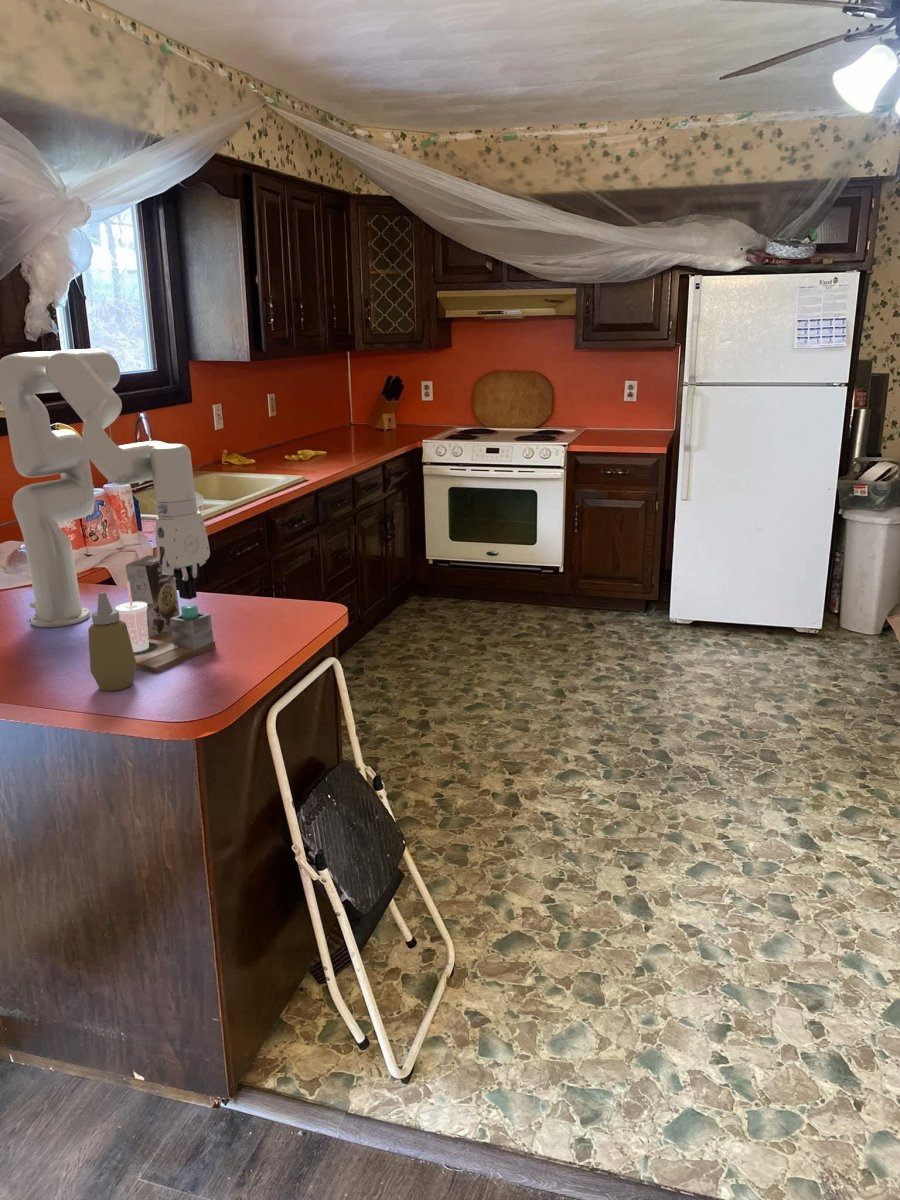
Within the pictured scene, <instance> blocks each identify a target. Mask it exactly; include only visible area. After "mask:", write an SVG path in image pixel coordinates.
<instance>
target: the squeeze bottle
mask: <svg viewBox="0 0 900 1200" xmlns="http://www.w3.org/2000/svg"><path fill="white" fill-rule="evenodd" d="M97 597H98V598H97V600H98V601H97V610H96V611H94V612H92V613H91V620H92V624H91V625H90V626H89V627H88V631H87V632H88V648H89V649H88V651H89V667H90V668H89V669H90V673H91V675H92V677H93V678H94V680H95V682H96V684H97V686H98V687H99V689H100V690H102V691H106V692H108V691H109V692H111V691H112V692H113V691H119V690H123V689H126V688H129V687H131V686H132V685H133V683H134V677H135V674H136V673H135V672H136V669H135V668H136V660H135V656H134V652H133V648H132V645H131V641H130V637H129V633H128V629H127V626H126V623H125V622H123V621H122V620H119V619H120V617H119V611H118V610H117V609H115V608H112V606H111V605H112V604H111V603H110V600H109V598H108V596H107V593H106V592H105V591H102V592H99V593H98V596H97Z"/></svg>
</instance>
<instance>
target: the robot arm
mask: <svg viewBox="0 0 900 1200" xmlns="http://www.w3.org/2000/svg"><path fill="white" fill-rule="evenodd" d="M120 379H121V370H120V366H119V364H118V362H117V360H116V359H115V357H114V356H113V355H112V354H111V353H109V352H108V351H106V350H105V349H103V348H102V349H101V348H86V349H85V348H82V349H81V348H80V349H65V350H54V351H53V350H51V351H48V350H47V351H26V352H17V353H12V354H8V355H6V356H3V357H2V358H1V359H0V403H1V406H2V409H3V411H4V415H5V416H4V417H5V420H6V427H7V433H8V437H9V444H10V450H11V457H12V460H13V465H14V467H15V470H16V471H17V473H18V474H19V475H21V476H23V477H25V478H41V477H48V476H52V475H53V476H54V475H60V479H54V480H47V481H42V482H36V483H31V484H27V485H24V486H22V487H21V488H19V489H18V490H17V491H16V492H15V493H14V495H13V498H12V509H13V512H14V515H15V517H16V519H17V523H18V525H19V528H20V531H21V535H22V537H23V542H24V547H25V553H26V558H27V563H28V570H29V575H30V581H31V585H32V586H31V587H32V592H33V593H32V594H33V597H34V598H33V599H34V600H33V601H31V602H30V603H29V608H32V609H34V612H35V614H33V615H32V616H31V617H30V623H31V625H32V626H34V627H38V628H58V627H60V628H61V627H65V626H66V627H67V626H69V625H70V626H71V625H74V624H78V623H80V622H83V621H85V620H87V619H88V618H89V617H90V616H91V614H90V613H91V612H90V610H89V608H87V607H84V606H83V607H82V601H81V595H80V589H79V584H78V583H79V581H78V575H77V571H76V565H75V558H74V552H73V546H72V542H71V539H70V538H69V537H68V535H67V534H66V533H65V532H64V531H63V530H62V528H61V527H60V526H59V524H62V523H65V522H70V521H74V520H78V519H82V518H85V517H87V516H89V515H91V513H92V512H93V510H94V507H95V492H94V491H95V490H94V484H93V477H92V469H91V463H92V464H93V466H95V468H96V469H97V470H98V471H99V472H100V473H101V474H102V476H103V477H104V478H105V479H106V480H108V481H109V482H111V483H113V484H115V485H119V486H127V485H131V484H136V483H142V482H147V481H153V482H152V483H153V489H154V497H155V505H156V506H155V507H154V508H153V511H154V512H153V513H154V514H155V515H157V517H156V520H155V548H156V555H157V557H158V562H159V565H160V566H162V574H163V575H172V576H173V577H174V579H175V581H176V580H177V585H178V594H179V595H178V596H179V598H180V599H184V600H192V599H195V598H197V597H198V596H197V586H196V578H197V576H198V570H199V569H200V567H202V566H203V565H205V564H206V563H207V560H208V559H209V558H210V555H211V551H210V544H209V538H208V533H207V529H206V525H205V521H204V519H203V515H202V513H201V511H198V507H197V497H196V496H197V495H196V488H195V481H194V480H195V479H194V471H193V464H192V456H191V454H192V453H191V451H190V448H189V447H188V446H187V445H186V444H183V443H167V442H163V441H160V440H149V441H142V442H133V443H128V444H121V445H117V444H116V443H115V442H114V441H113V440H112V439H111V438H110V436H109V435H108V434H107V433H106V431H105V429H106V428H107V427H109V426H110V425H111V424H113V423H114V422H115V421H116V419H117V418H118V417H119V416H120V414H121V413H122V408H123V404H122V399H121V398H120V396H119V395H118V394H117V393H116V392H115V390H114V388H115V387H116V386H117V385H118V383H119V382H120ZM48 393H49V394H51V393H60V395H61V397H63V399H64V400H65V401H66V402H67V403H68V405H70V408H72V409H73V411H75V414H77V415H78V416H79V418H80V419H81V420H82V421H83V425H82V433H81V434H82V435H79V433H77V432H76V431H74V430H71V429H55V430H52V429H51V428H52V427H51V422H50V415H49V412H48V409H47V407H46V405H44V403H43V402H42V401H41V400H40V398H39V397H37V395H38V394H48ZM36 394H37V395H36ZM81 436H82V437H81Z"/></svg>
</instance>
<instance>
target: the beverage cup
mask: <svg viewBox="0 0 900 1200" xmlns="http://www.w3.org/2000/svg"><path fill="white" fill-rule="evenodd" d="M126 585H127V593H128V599H129V601H128V602H124V603H121V604H118V605H117V606H115V608H114V609H117V610H118V611H119V617H120V619H119V620H122V621H123V622H125V623H126V626H127V629H128V633H129V637H130V641H131V645H132V648H133V652H139V651H144V650H146V649H148V648H149V639H148V638H149V637H148V625H147V608H148V607H147V603H145V602H132V598H131V591H130V583H129V582H128V581H126Z"/></svg>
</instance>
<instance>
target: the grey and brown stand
mask: <svg viewBox="0 0 900 1200" xmlns="http://www.w3.org/2000/svg"><path fill="white" fill-rule="evenodd" d="M198 615H199V617H198V618H196V619H193V620H184V619H182V613H181V614H180V615H178V616H176V617H173V618H170V621H171V629H172V630H171V632H168V633H167V632H162V633H159V634H157V635H154V636H151V637H148V639H149V648H148V649H146V650H144V651H139V652H134V656H135V660H136V668H135V670H141V671H145V672H149V673H153V674H158V673H160V672H162V671H165V670H167V669H169V668H171V667H173V666H176V665H179V664H180V663H181V664H182V662H185V661H187V660H189V659H192V658H194V657H196V656H197V657H198V656H199V655H201V654H203V653H206V652H208V651H210V650H213V649H215V648H216V647H217V646H216V641H214V632H213V625H212V624H213V623H212V617H211V616H212V615H211V614H210V613H205V612H200V611H198Z"/></svg>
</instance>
